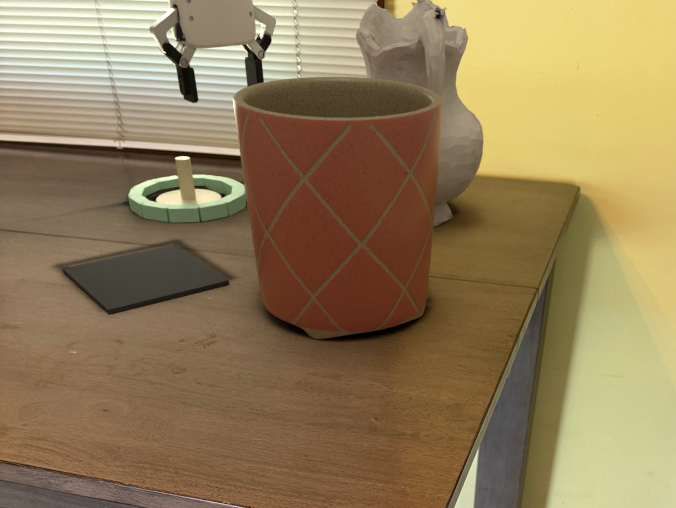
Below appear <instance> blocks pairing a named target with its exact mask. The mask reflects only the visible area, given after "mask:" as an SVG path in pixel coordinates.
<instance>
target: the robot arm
mask: <svg viewBox="0 0 676 508" xmlns="http://www.w3.org/2000/svg"><path fill="white" fill-rule="evenodd" d="M167 3H168V10H167V12H166V13H165V14H163V15H162V16H161V17H160V18H157V20H156V21H155V22H153V23H152V24H151V25H150V26H149V28H148V30H149V33H150V35H151V37H152V38H153V39H154V41H155V44H157V45H158V47H159V50H160V52H161V53H162V54H163V55H164V56H165V57H166V58H167V59H168V60H169V61H171V62H170V63H172V64H173V65H174V66H175V70H176V75H177V81H178V88H179V92H180V94H181V95H182V97H183V100H184V101H187V102H190V103H192V104H197V103H198V102H199V94H198V87H197V86H198V85H197V80H196V75H195V69H194V67H192V66H191V65H190V63H191V61H192V60H193V57H194V55H195V53H196V51H197V50H198V49H199V50H201V49H202V50H204V49H213V48H214V49H215V48H225V47H236V46H240V47H241V48H242V49H243V50H244V52H245V53H246V54H247V56H245V57H244V68H245V76H246V87H248V86H251V85H255V84H259V83H264V82H265V79H264V69H263V60H264V59H266V58H265V57H266V52H267V50H268V49H269V47H270V45H271V44H272V42H273V41H272V40H273V39H272V37H273V34H274V33H275V28H276V25H277V20H276V18H275V17H274V16H272V15H271V14H268V12H266V11H264V10H262V9H261V8H259V7H257V6H256V5H254V1H253V0H168V1H167ZM256 22H258V23H259V25H260V33H259V34H258V35H257V37H256V34H257V32H256V31H257V29H256ZM170 30H171V33H172V37H173V40H174V42H176V46H174V45H173V44H171V42H170V41H169V38H168V35H167V33H168V32H169V31H170Z"/></svg>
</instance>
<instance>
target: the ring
mask: <svg viewBox="0 0 676 508" xmlns="http://www.w3.org/2000/svg"><path fill="white" fill-rule="evenodd" d="M193 180H194V187H198V188H196V189H205V190H210V191H214V192H217V193H218V194H220V195H224V197H221V198H222V199H220V200H216V201H211V202H206V203H200V204H178V205H171V204H165V203H159V202H156V201H153V199H155V198H157V197H158V196H160V195H161V194H159V195H152V196H149V195H151V194H154V193H156V192H159V191H163V190H166V189H167V190H169V189H173V188H180V186H179V180H178V174H177V175H169V176H164V177H163V176H162V177H157V178H152V179H148V180H146V181H143V182H141V183H139V184H136V185H134V186H132V187H130V190H129V193H128V195H127V200H128V204H129V210H130V211H132V212H133V213H134V214H136V215H138V216H139V217H140V218H142V219H146V220H151V221H157V222H163V223H170V224H172V223H178V224H179V223H201V222H208V221H213V220H217V219H222V218H227V217H231V216H233V215H235V214H237V213H238V212H240V211H242V210H244V209H245V208H246V207H247V199H246V192H245V186H244V183H242V182H239V181H237V180H235V179H233V178H230V177H226V176H218V175H211V174H193Z"/></svg>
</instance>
